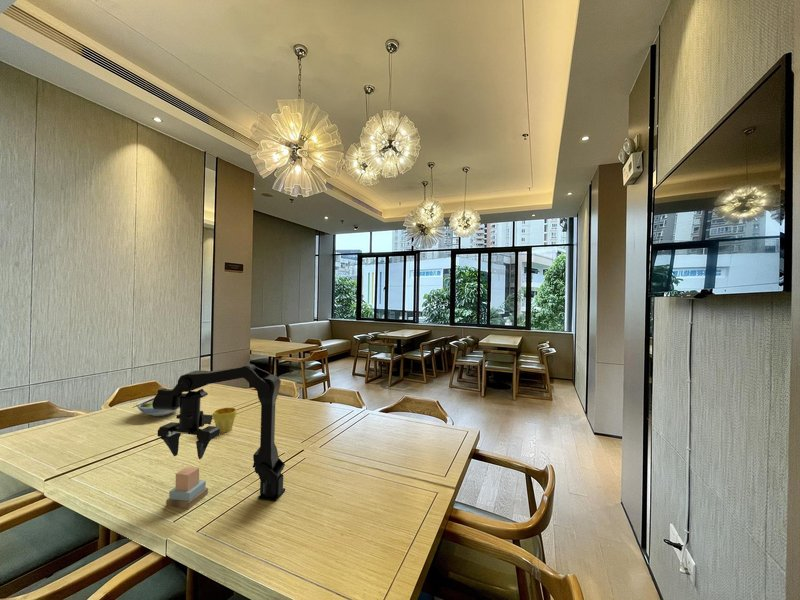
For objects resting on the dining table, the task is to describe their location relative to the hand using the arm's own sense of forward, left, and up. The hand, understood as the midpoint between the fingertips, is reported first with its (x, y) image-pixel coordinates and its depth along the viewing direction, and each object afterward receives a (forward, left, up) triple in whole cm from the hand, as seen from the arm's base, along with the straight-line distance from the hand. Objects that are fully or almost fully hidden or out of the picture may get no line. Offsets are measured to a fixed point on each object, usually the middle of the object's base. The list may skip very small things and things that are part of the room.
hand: (188, 457), depth 106 cm
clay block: (-2, +2, -8) cm, 9 cm away
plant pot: (+25, -50, -13) cm, 58 cm away
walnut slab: (-2, +2, -13) cm, 14 cm away
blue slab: (-2, +2, -11) cm, 11 cm away
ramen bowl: (+73, -62, -13) cm, 97 cm away
